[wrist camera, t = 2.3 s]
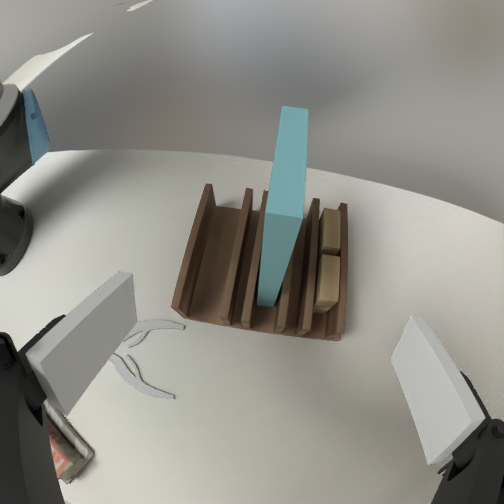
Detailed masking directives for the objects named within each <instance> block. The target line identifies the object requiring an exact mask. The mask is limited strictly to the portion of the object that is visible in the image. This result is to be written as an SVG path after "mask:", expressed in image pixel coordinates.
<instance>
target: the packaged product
mask: <svg viewBox="0 0 504 504" xmlns="http://www.w3.org/2000/svg"><path fill="white" fill-rule="evenodd" d="M43 403H44V404H45V407H46V415H47V424H48V432H49V438H50V444H51V450H52V455H53V460H54V465H55V469H56V474H57V478H58V479H62V480H63V481H64V482H65V483H66V484H68V483H69V482H70V481H71V480H72V479H73V478H74V477H75V476H76V475H77V474H78V472H79V471H80V470H81V468H82V467H83V466H84V465H85V464H86V463H87V462H88V460H89V459H90V458H91V457H92V456H93V454H94V452H93V451H92V450H91V449H90V448H89V447H88V446H87V445H86V444H85V442H84V441H83V440H82V439H81V438H80V437H79V436H78V435H77V433H76V432H75V431H74V429H73V428H72V427H71V426H70V424H69V423H68V422H67V420H66V419H65V418H64V417H63V415H62V414H61V413H60V411H58V410H57V409H55V408H53V407H52V405H51V403H50V402H49V400H48V398H46V400H45V401H44V402H43Z"/></svg>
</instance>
